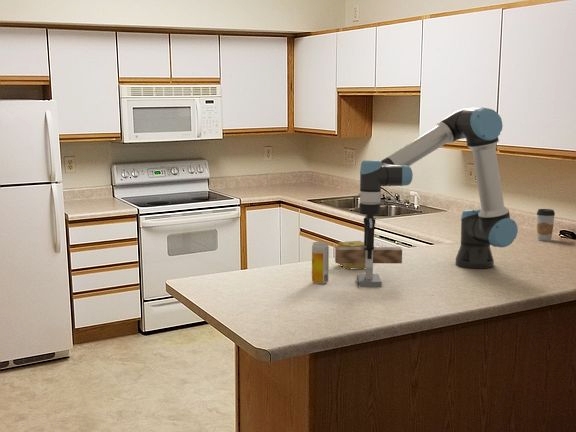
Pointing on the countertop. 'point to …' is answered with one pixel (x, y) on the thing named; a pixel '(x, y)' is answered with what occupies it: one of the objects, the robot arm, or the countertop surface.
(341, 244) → the cheese
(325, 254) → the beer can
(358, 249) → the walnut bar
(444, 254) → the countertop surface
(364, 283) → the fulcrum
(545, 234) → the coffee cup
